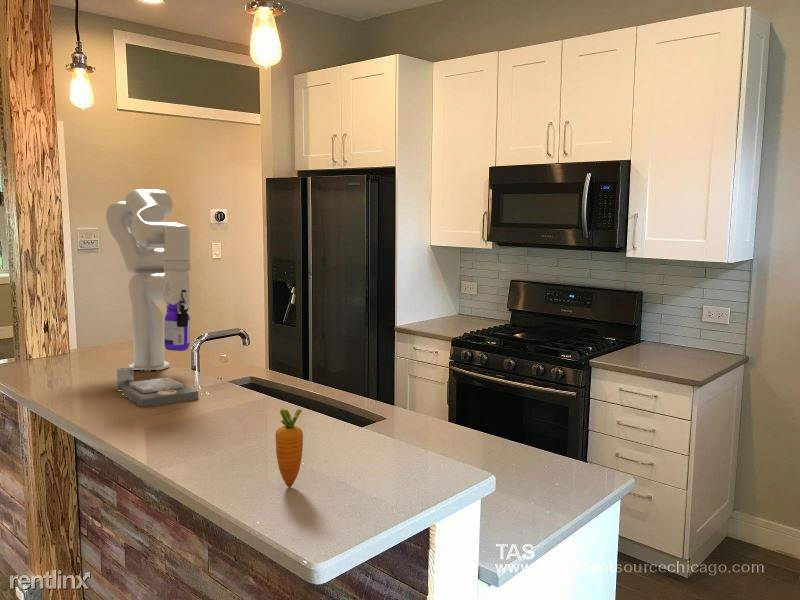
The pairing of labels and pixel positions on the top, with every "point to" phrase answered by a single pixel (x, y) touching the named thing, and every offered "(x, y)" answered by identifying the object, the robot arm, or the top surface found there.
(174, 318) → the bottle
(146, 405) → the scale
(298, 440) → the carrot
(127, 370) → the cylinder
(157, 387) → the platform
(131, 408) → the top surface
